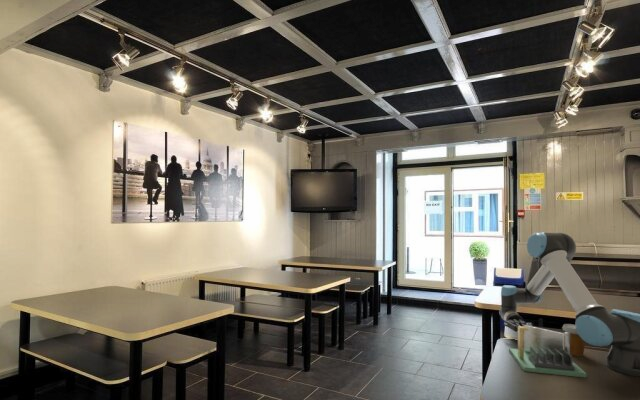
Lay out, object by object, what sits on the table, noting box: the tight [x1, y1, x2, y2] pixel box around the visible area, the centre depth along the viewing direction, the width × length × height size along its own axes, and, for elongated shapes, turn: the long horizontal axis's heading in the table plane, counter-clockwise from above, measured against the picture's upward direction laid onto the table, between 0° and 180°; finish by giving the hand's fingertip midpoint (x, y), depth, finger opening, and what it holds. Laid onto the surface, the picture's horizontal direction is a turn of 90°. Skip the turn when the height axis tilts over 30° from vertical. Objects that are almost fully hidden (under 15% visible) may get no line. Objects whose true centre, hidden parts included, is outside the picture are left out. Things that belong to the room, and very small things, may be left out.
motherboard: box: [508, 348, 587, 378], centre depth 158 cm, size 22×22×2 cm
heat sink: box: [517, 326, 574, 371], centre depth 154 cm, size 19×11×13 cm, turn 77°
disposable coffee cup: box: [561, 323, 586, 357], centre depth 170 cm, size 10×10×12 cm
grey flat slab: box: [524, 325, 564, 354], centre depth 162 cm, size 15×2×11 cm, turn 42°
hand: (528, 334), depth 171 cm, fingers closed
